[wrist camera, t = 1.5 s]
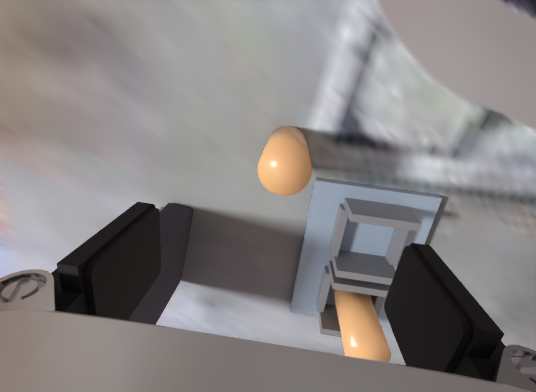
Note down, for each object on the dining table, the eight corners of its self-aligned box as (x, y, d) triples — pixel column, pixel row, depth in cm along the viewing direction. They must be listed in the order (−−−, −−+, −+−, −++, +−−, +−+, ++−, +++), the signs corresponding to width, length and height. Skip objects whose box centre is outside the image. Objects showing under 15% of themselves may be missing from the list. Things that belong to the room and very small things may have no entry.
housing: (315, 177, 30) (325, 219, 21) (437, 194, 30) (502, 245, 20) (290, 306, 37) (289, 380, 28) (389, 321, 37) (421, 402, 27)
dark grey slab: (163, 199, 33) (67, 285, 19) (198, 209, 33) (129, 302, 19) (153, 273, 37) (69, 388, 23) (185, 282, 37) (120, 401, 23)
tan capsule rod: (270, 123, 28) (261, 140, 20) (309, 128, 28) (316, 147, 20) (265, 161, 30) (255, 191, 22) (303, 166, 30) (306, 199, 21)
